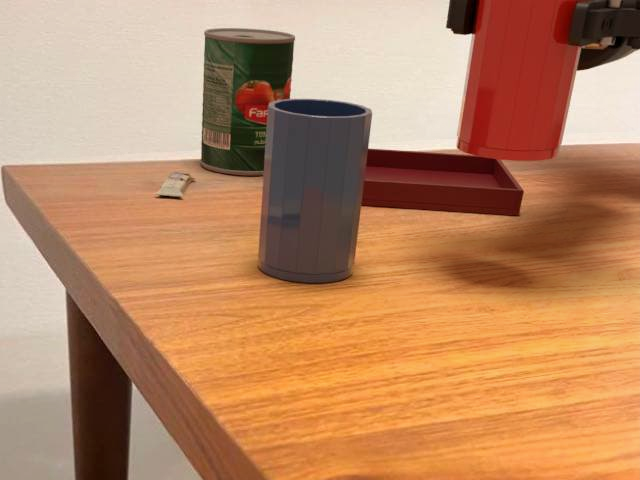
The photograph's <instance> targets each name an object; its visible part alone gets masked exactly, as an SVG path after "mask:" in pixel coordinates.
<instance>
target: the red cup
mask: <svg viewBox="0 0 640 480" xmlns="http://www.w3.org/2000/svg"><path fill="white" fill-rule="evenodd" d="M582 1H589V0H477V5H476V12H475V18H474V25H473V32H472V34H471V39H470V45H469V52H468V59H467V64H466V65H467V66H466V73H465V79H464V86H463V91H462V92H463V93H462V97H461V105H460V110H459V111H460V112H459V119H458V125H457V131H456V137H457V138H456V143H455V147H456V149H457V150H459V151H461V152H462V153H466V154H467V155H475V156H480V157H486V158H492V159H500V160H501V161H513V162H535V161H547V160H552V159H555V158H557V157H558V156H559V153H560V149H561V145H562V143H563V139H564V134H565V129H566V124H567V120H568V115H569V109H570V106H571V100H572V95H573V91H574V85H575V81H576V76H577V72H578V71H577V67H578V62H579V57H580V52H581V47H580V46H570V45H569V44H568V39H569V34H570V29H571V24H572V19H573V14H574V10H575V7H576V4H577V3H578V2H582Z"/></svg>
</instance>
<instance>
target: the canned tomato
mask: <svg viewBox="0 0 640 480" xmlns="http://www.w3.org/2000/svg"><path fill="white" fill-rule="evenodd" d="M203 35H204V52H203V74H202V75H203V76H202V77H203V84H202V86H203V87H202V113H201V117H202V121H201V142H200V143H201V148H200V149H201V151H200V154H201V156H200V161H199V162H200V163H199V164H200V165H201V166H202V167H203V168H204V169H207V170H209V171H212V172H216V173H220V174H226V175H233V176H250V177H251V176H252V177H254V176H255V177H256V176H257V177H258V176H259V177H260V176H263V175H264V160H265V145H266V129H267V114H268V105H269V103H270V102H274V101H277V100H285V99H291V92H292V75H293V63H294V50H295V49H294V48H295V41H296V36H295V35H294V34H293V33H288V32H284V31H278V30H272V29H271V30H270V29H269V30H268V29H259V28H241V27H239V28H238V27H220V28H219V27H218V28H217V27H216V28H208V29H205V30H204V33H203Z"/></svg>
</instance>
